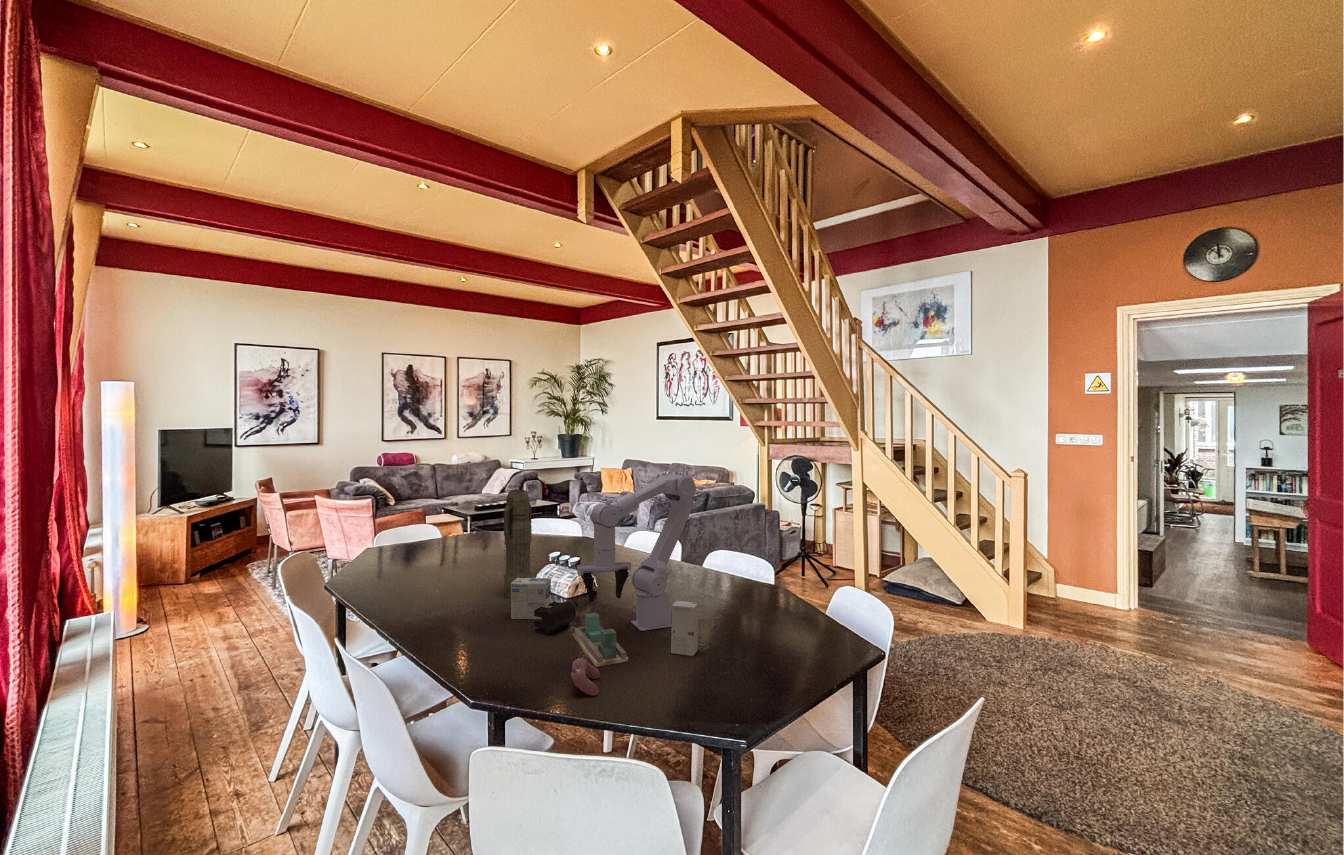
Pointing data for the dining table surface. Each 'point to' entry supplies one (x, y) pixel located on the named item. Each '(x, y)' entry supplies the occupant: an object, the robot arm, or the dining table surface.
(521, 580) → the light bulb box
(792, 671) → the dining table surface
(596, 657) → the wooden tray
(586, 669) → the maroon curved piece
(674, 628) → the skincare box
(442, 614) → the dining table surface
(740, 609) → the dining table surface
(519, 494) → the thermos
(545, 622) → the black lumpy piece
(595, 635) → the teal l-shaped block
